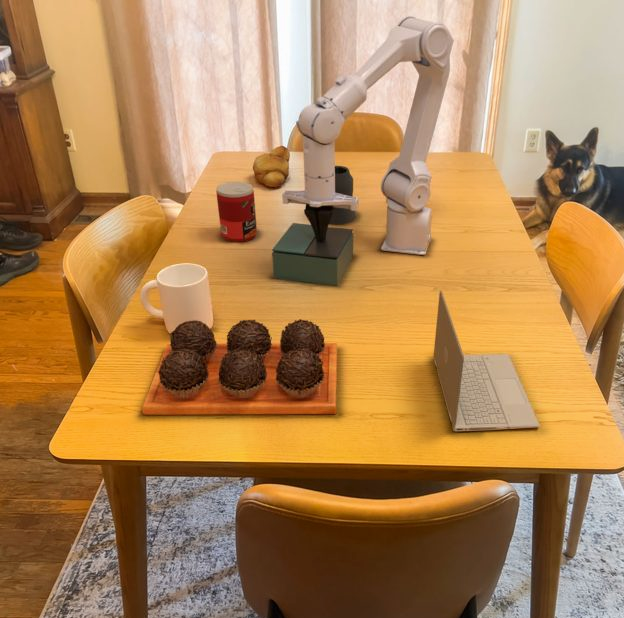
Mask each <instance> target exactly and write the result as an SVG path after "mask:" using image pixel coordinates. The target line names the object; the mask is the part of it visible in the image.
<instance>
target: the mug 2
mask: <svg viewBox="0 0 624 618" xmlns="http://www.w3.org/2000/svg"><path fill="white" fill-rule="evenodd" d="M335 193H339V194H343V195H347V196H351V197H354V177H353V176H352V174H351V173H350V169H349V167H347V166H343V165H335ZM356 218H357V213H356V211H352V210H351V209H346V208H335V210H334V212H333V214H332V216H331V219H330V222H329V225H345V224H349V223H352V222H354V221H355V220H356Z"/></svg>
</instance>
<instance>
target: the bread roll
mask: <svg viewBox="0 0 624 618" xmlns="http://www.w3.org/2000/svg"><path fill="white" fill-rule="evenodd" d="M290 157H291V154H290V150H289V149H288V147H286V146H284V145H279V146H276V147H274V148H273V149H272V150H270V151H269V153H263V154H259V155H258V156H257V157H255V159H254V161H253V163H252V171H253V173H254V174H253V175H254V177H255V179H256V181H257V182H258V183H260V184H264V185H265V186H266V187H270V188H277V187H279V186H283V184H284V182H285V180H286V179H288V178H289V174H290V170H289V169H290Z"/></svg>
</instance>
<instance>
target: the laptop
mask: <svg viewBox="0 0 624 618" xmlns="http://www.w3.org/2000/svg"><path fill="white" fill-rule="evenodd" d="M434 335H435V336H434V346H433V347H434V348H433V361H434V364H435V367H436V372H437V375H438V380H439V383H440V386H441V390H442V394H443V399H444V401H445V405H446V409H447V413H448V416H449V419H450V422H451V427H452V431H453V432H473V431H475V432H477V431H496V430H497V431H498V430H513V429H514V430H515V429H529V428H540V427H541V425H540V423H539V421H538V418H537V415H536V414H535V411H534V409H533V406H532V403H531V402H530V400H529V398H528V395H527V393H526V391H525V389H524V386H523V384H522V381H521V379H520V377H519V374H518V372H517V370H516V368H515V366H514V363H513V361H512V359H511V357H510V354H508V353H496V354H493V353H492V354H464V353H463V349H462V346H461V343H460V341H459V337H458V335H457V332H456V328H455V326H454V323H453V320H452V317H451V314H450V311H449V308H448V305H447V302H446V300H445V297H444V294H443V291H442V290H439V294H438V303H437V316H436V326H435V334H434Z"/></svg>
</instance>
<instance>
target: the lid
mask: <svg viewBox="0 0 624 618" xmlns="http://www.w3.org/2000/svg"><path fill="white" fill-rule="evenodd" d="M353 231H354V229H353V228H344V227H332V226H331V227H330V226H328V228H327V233H326V239H325V240H324V242H323V243H322V242H316V238H315V239H314V241H313V242H312V244H311V245H310V246H309V248H308V249H307V251H306V252H305V255H309V256H319V257H330V258H337V257H338V255H339V254H340V252H341V250H342V249H343V247H344V245H345V243H346V242H347V240H348V238H349V237H350V235H351V233H354V232H353Z"/></svg>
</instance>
